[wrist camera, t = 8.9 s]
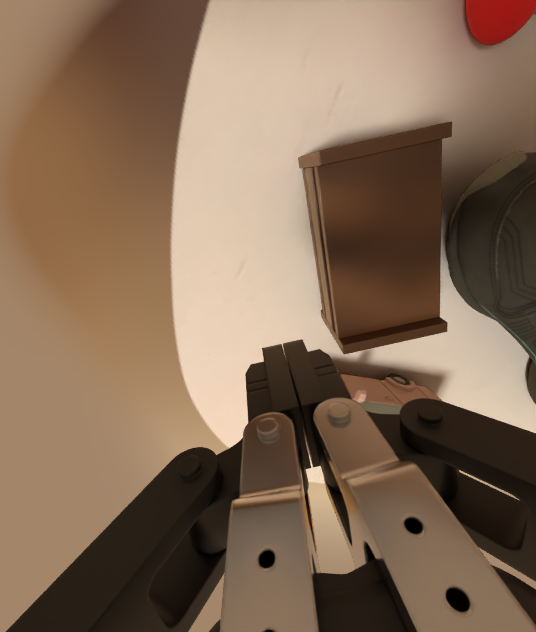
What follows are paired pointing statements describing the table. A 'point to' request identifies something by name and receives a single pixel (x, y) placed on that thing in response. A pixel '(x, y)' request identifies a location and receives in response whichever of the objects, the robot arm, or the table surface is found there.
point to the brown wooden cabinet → (378, 236)
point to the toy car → (384, 393)
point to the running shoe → (499, 249)
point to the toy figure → (497, 18)
